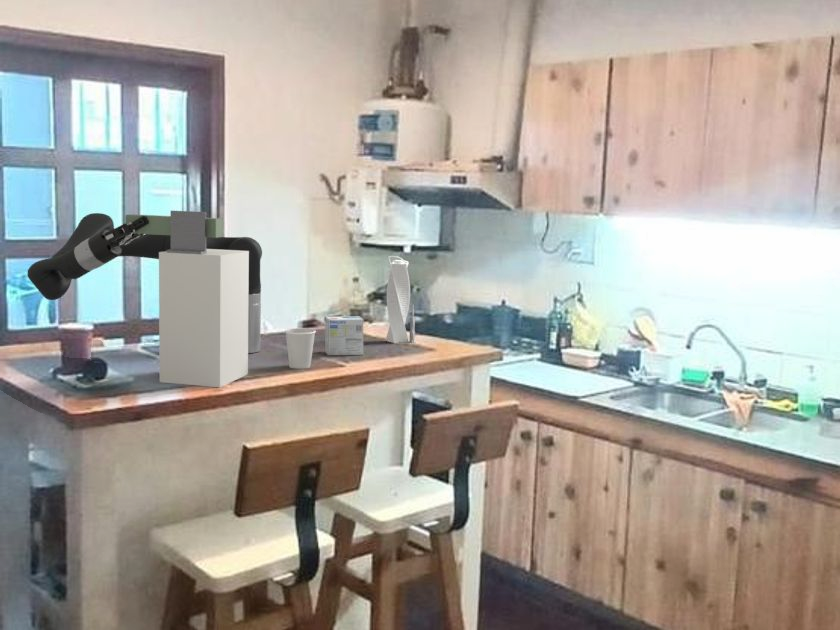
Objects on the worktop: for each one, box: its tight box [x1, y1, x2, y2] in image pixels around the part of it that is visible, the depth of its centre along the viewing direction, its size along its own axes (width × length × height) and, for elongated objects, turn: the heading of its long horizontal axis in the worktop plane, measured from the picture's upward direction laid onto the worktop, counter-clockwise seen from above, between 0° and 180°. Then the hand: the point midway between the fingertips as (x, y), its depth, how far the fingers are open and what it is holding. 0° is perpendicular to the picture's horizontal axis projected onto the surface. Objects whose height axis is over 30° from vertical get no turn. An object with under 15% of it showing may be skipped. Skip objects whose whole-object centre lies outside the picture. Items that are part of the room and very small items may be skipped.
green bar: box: [124, 213, 224, 238], centre depth 233 cm, size 4×24×4 cm, turn 77°
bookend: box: [167, 210, 208, 254], centre depth 228 cm, size 3×9×10 cm, turn 77°
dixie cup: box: [284, 327, 317, 370], centre depth 257 cm, size 8×8×10 cm
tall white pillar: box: [158, 249, 249, 388], centre depth 237 cm, size 17×16×32 cm
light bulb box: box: [324, 315, 364, 356], centre depth 280 cm, size 11×7×11 cm, turn 105°
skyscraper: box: [385, 255, 416, 346], centre depth 301 cm, size 8×8×28 cm
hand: (151, 218), depth 234 cm, fingers closed on green bar, 4 cm apart
